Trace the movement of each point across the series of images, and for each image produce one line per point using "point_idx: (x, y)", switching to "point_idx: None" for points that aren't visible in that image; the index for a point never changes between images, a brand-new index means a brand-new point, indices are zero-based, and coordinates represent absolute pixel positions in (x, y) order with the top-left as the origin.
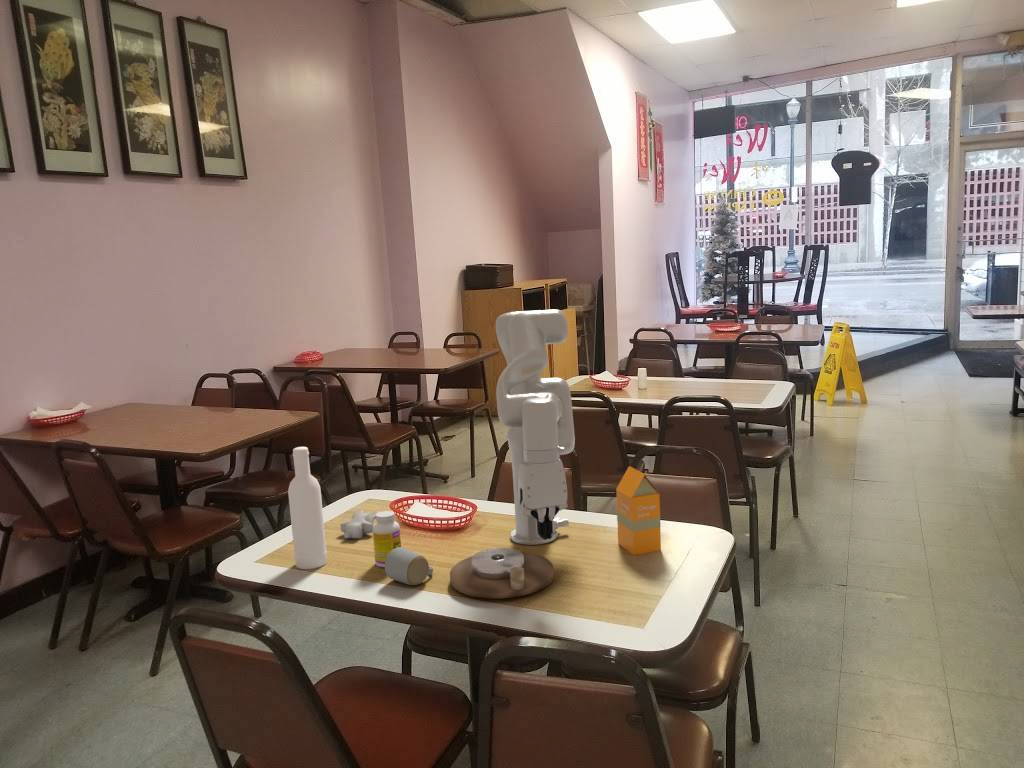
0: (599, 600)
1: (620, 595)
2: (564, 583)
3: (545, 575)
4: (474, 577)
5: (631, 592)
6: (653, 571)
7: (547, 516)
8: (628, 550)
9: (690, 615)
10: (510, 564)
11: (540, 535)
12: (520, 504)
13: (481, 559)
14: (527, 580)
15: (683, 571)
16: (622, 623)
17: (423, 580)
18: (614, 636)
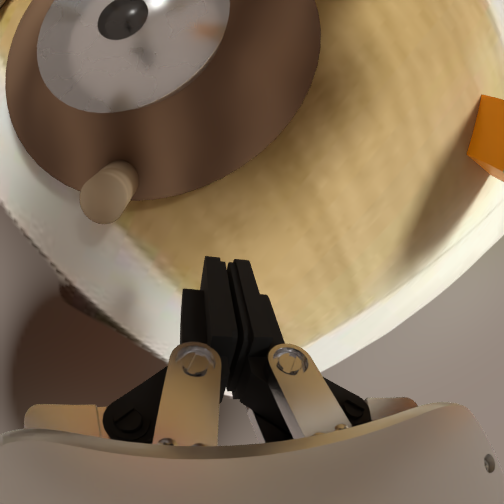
0: (280, 280)
1: (325, 281)
2: (281, 162)
3: (234, 151)
4: None
5: (347, 281)
6: (432, 233)
7: (252, 403)
8: (473, 134)
9: (334, 360)
10: (123, 101)
11: (203, 271)
12: (9, 437)
13: (70, 15)
14: (165, 152)
15: (446, 258)
16: None
17: (1, 4)
18: None
